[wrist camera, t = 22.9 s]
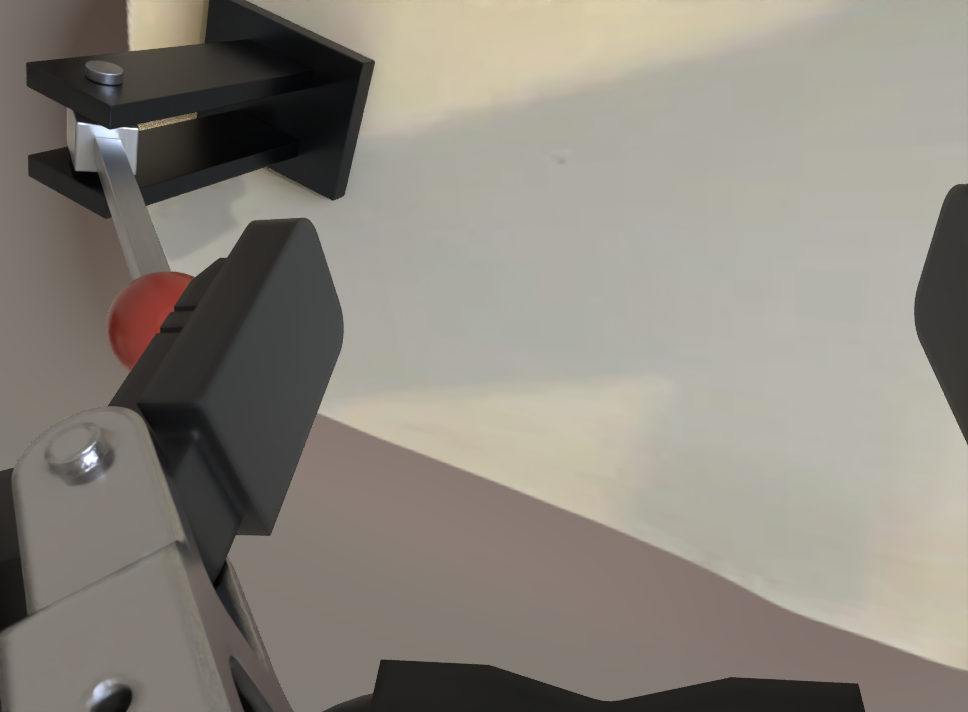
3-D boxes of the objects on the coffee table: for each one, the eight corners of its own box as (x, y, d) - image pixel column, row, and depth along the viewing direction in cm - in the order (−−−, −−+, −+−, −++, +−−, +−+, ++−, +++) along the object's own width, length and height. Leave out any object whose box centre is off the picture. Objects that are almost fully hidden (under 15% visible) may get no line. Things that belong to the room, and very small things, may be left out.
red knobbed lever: (250, 313, 23) (119, 317, 21) (235, 403, 25) (113, 414, 23) (143, 87, 34) (50, 76, 32) (139, 162, 36) (50, 156, 34)
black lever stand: (375, 61, 41) (170, 98, 28) (344, 196, 45) (154, 279, 33) (224, -10, 42) (-29, -4, 30) (208, 126, 47) (-19, 180, 35)
